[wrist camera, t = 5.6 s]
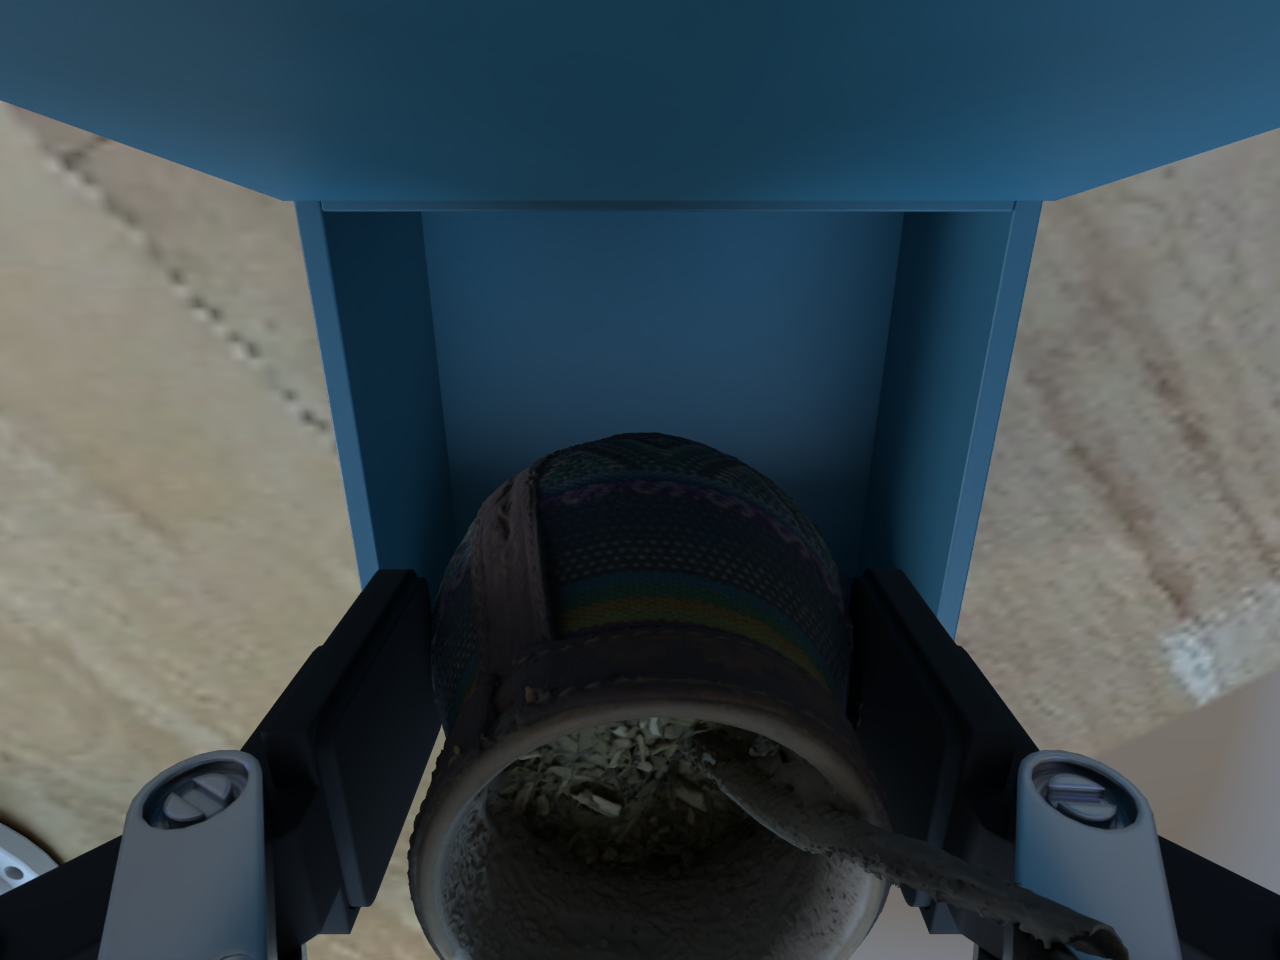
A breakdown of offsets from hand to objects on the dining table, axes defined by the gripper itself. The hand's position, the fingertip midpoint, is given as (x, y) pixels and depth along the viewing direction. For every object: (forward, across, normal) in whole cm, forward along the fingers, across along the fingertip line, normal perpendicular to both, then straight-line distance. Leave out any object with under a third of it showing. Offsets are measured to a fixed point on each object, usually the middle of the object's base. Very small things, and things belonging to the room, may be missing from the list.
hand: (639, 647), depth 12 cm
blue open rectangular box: (+14, +1, 0) cm, 14 cm away
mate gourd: (+4, 0, 0) cm, 4 cm away
